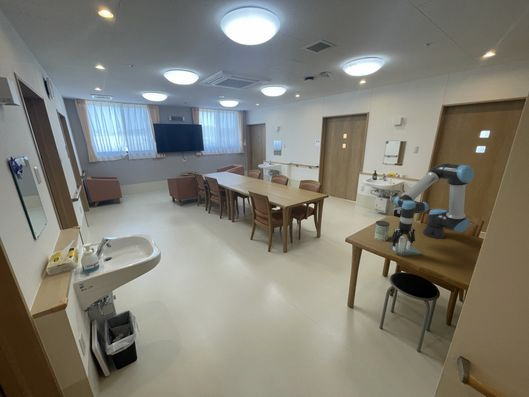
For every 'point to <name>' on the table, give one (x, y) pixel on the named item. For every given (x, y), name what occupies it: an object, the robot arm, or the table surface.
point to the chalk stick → (401, 244)
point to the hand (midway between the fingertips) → (400, 249)
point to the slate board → (411, 252)
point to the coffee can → (381, 230)
